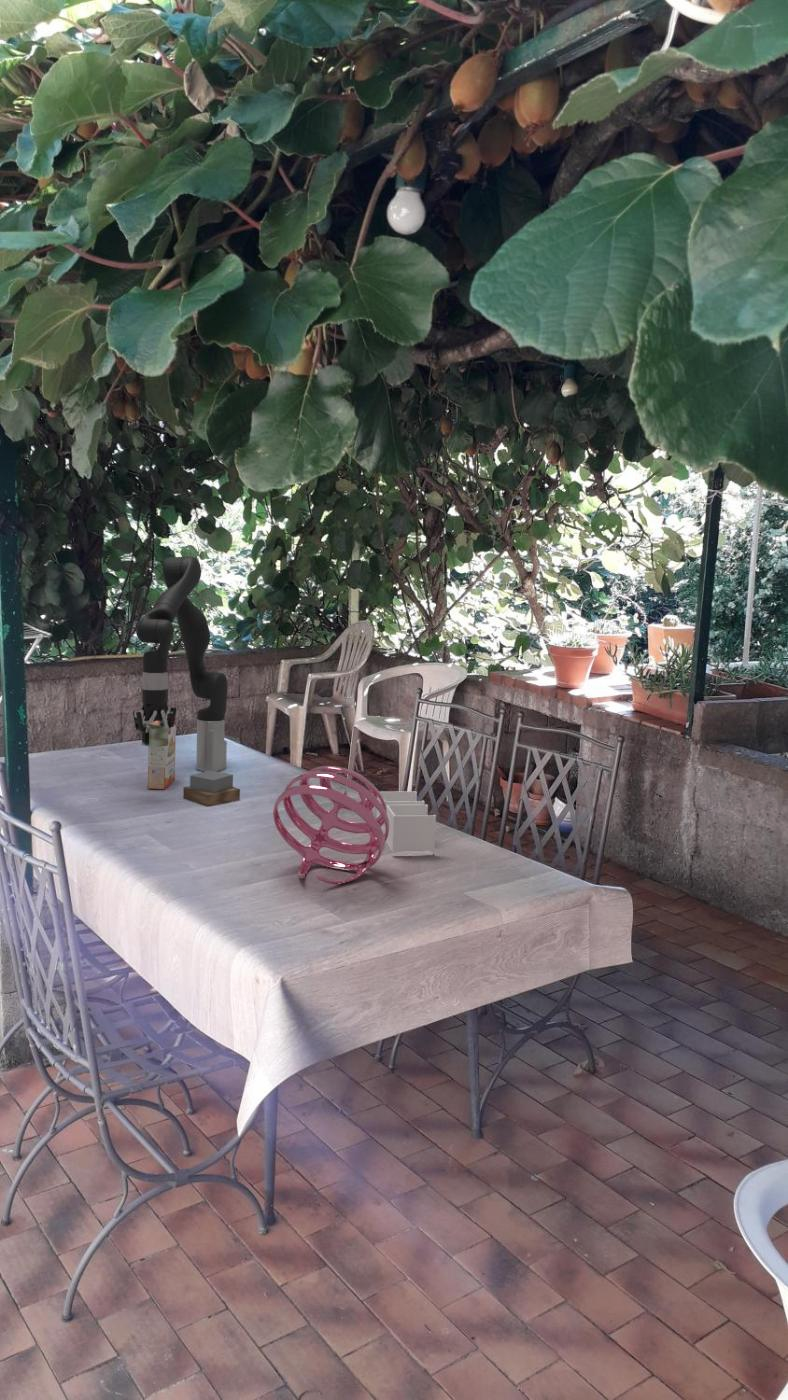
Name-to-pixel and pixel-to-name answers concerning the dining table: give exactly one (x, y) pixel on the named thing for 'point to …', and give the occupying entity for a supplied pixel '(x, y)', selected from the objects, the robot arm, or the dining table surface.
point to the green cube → (158, 736)
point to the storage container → (408, 822)
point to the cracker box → (162, 762)
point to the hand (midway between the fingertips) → (154, 743)
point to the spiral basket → (334, 820)
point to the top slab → (211, 781)
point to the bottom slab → (211, 796)
